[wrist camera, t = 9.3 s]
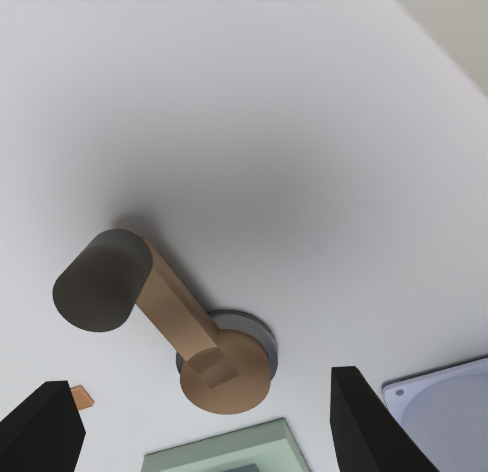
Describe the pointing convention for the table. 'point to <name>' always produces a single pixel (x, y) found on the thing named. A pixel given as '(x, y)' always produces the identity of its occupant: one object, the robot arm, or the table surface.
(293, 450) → the tray
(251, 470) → the block
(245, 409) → the crank
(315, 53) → the table surface
